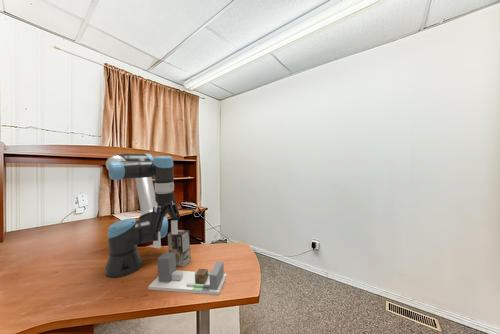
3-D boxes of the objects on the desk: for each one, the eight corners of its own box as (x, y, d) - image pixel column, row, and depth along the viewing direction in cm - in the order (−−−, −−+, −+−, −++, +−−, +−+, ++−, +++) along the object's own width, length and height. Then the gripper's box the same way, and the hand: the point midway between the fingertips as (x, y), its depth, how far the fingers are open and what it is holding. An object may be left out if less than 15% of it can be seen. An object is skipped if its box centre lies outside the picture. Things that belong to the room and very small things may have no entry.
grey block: (158, 281, 84) (157, 258, 83) (165, 273, 89) (164, 252, 89) (178, 282, 82) (177, 259, 82) (184, 274, 88) (183, 253, 87)
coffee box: (191, 260, 103) (190, 230, 102) (183, 267, 97) (182, 235, 96) (177, 258, 106) (175, 228, 105) (168, 264, 100) (167, 233, 99)
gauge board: (148, 289, 81) (147, 272, 81) (164, 272, 93) (164, 257, 92) (218, 294, 77) (218, 277, 76) (226, 276, 89) (226, 260, 88)
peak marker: (195, 283, 82) (194, 274, 82) (199, 277, 86) (199, 268, 86) (204, 284, 82) (204, 275, 81) (208, 277, 86) (207, 269, 86)
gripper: (155, 198, 71) (157, 255, 72) (186, 187, 96) (187, 229, 97) (136, 198, 72) (138, 254, 73) (171, 187, 97) (173, 229, 98)
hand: (166, 240), depth 85 cm, fingers open, 13 cm apart
